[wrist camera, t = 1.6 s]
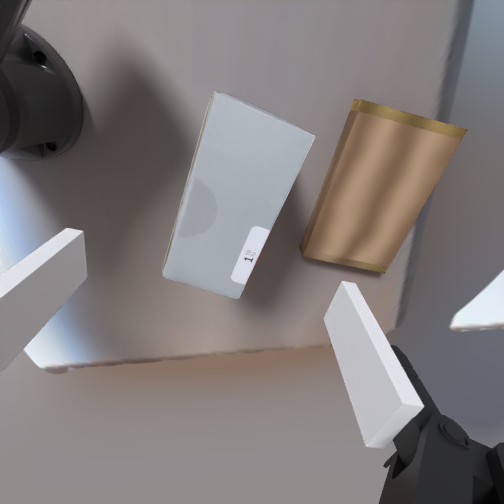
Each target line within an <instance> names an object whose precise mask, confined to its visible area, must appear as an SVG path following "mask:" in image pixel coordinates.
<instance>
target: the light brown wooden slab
mask: <svg viewBox="0 0 504 504" xmlns="http://www.w3.org/2000/svg"><path fill="white" fill-rule="evenodd" d="M466 131H467V129H463V128H460V127H456V126H453V125H449V124H446V123H442V122H438V121H435V120H431V119H428V118H424V117H421V116H417V115H414V114H410V113H407V112H403V111H399V110H396V109H392V108H389V107H385V106H382V105H378V104H375V103H371V102H368V101H364V100H354V102H353V105H352V107H351V110H350V113H349V116H348V118H347V121H346V124H345V126H344V129H343V132H342V135H341V137H340V140H339V143H338V145H337V148H336V151H335V154H334V156H333V159H332V162H331V164H330V167H329V170H328V173H327V175H326V178H325V181H324V184H323V186H322V189H321V192H320V194H319V197H318V200H317V203H316V205H315V208H314V211H313V213H312V216H311V219H310V222H309V224H308V227H307V230H306V232H305V235H304V238H303V241H302V243H301V246H300V249H301V252H302V255H303V257H307V258H312V259H317V260H322V261H327V262H332V263H337V264H342V265H347V266H352V267H356V268H361V269H366V270H371V271H376V272H381V273H385V272H386V270H387V268H388V267H389V265H390V263H391V262H392V260H393V258H394V256H395V255H396V253H397V251H398V249H399V248H400V246H401V244H402V242H403V241H404V239H405V237H406V236H407V234H408V232H409V230H410V229H411V227H412V225H413V223H414V222H415V220H416V218H417V216H418V215H419V213H420V211H421V209H422V208H423V206H424V204H425V203H426V201H427V199H428V197H429V196H430V194H431V192H432V190H433V189H434V187H435V185H436V183H437V182H438V180H439V178H440V177H441V175H442V173H443V171H444V170H445V168H446V166H447V164H448V163H449V161H450V159H451V157H452V156H453V154H454V152H455V150H456V149H457V147H458V145H459V144H460V142H461V140H462V138H463V137H464V135H465V133H466Z"/></svg>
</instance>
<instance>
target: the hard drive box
mask: <svg viewBox="0 0 504 504" xmlns="http://www.w3.org/2000/svg"><path fill="white" fill-rule="evenodd" d="M314 139H315V136H314V135H311V134H310V133H308V132H306V131H304V130H302V129H301V128H299V127H297V126H295V125H293V124H291V123H289V122H287V121H285V120H283V119H281V118H280V117H278V116H276V115H273V114H271V113H269V112H267V111H265V110H263V109H261V108H259V107H256V106H254V105H252V104H250V103H248V102H246V101H243V100H241V99H239V98H236V97H234V96H232V95H227V94H223V93H220V92H213V93H212V96H211V98H210V101H209V104H208V108H207V111H206V114H205V118H204V121H203V125H202V128H201V132H200V135H199V139H198V143H197V146H196V150H195V153H194V157H193V160H192V164H191V168H190V172H189V175H188V179H187V182H186V186H185V190H184V193H183V197H182V200H181V204H180V207H179V211H178V214H177V218H176V221H175V225H174V228H173V232H172V235H171V239H170V242H169V246H168V249H167V253H166V257H165V261H164V265H163V269H162V274H163V277H164V278H167V279H170V280H174V281H177V282H181V283H184V284H187V285H191V286H194V287H197V288H201V289H204V290H207V291H211V292H214V293H218V294H221V295H224V296H228V297H231V298H235V299H239V298H240V296H241V294H242V292H243V289H244V287H245V285H246V283H247V281H248V279H249V277H250V275H251V273H252V271H253V269H254V267H255V264H256V262H257V260H258V258H259V256H260V254H261V251H262V249H263V247H264V245H265V243H266V240H267V238H268V236H269V234H270V232H271V229H272V227H273V225H274V223H275V221H276V219H277V216H278V214H279V212H280V210H281V208H282V206H283V204H284V202H285V200H286V198H287V196H288V194H289V192H290V189H291V187H292V185H293V183H294V181H295V179H296V177H297V175H298V173H299V170H300V168H301V166H302V164H303V162H304V160H305V157H306V155H307V153H308V151H309V149H310V147H311V145H312V143H313V141H314Z"/></svg>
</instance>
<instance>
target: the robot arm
mask: <svg viewBox="0 0 504 504" xmlns="http://www.w3.org/2000/svg"><path fill="white" fill-rule="evenodd" d="M31 1H32V0H0V157H7V158H14V159H20V160H43V159H47V158H50V157H54V156H57V155H60V154H62V153H64V152H65V151H67V150H68V149H69V148H70V147H71V146H72V145H73V144H74V143H75V142H76V140H77V138H78V136H79V134H80V131H81V128H82V122H83V107H82V100H81V96H80V92H79V89H78V87H77V84H76V82H75V79H74V77H73V75H72V73H71V71H70V70H69V68H68V66H67V65H66V63H65V62H64V60H63V59H62V58H61V56H60V55H59V54H58V53H57V52H56V50H55V49H54V48H53V47H52V46H51V45H50V44H49V43H48V42H47V41H46V40H45V39H43V38H42V37H41V36H40V35H38V34H37V33H36V32H34V31H33V30H31V29H30V28H28V27H26V26H25V25H23V24H21V22H22V20H23V18H24V16H25V14H26V12H27V10H28V8H29V6H30V4H31ZM87 278H88V276H87V264H86V252H85V240H84V231H81V230H76V229H71V228H66V229H64V230H63V231H61V232H60V233H59V234H57V235H56V236H54V237H53V238H52V239H50V240H49V241H47V242H46V243H45V244H43V245H42V246H41V247H39V248H38V249H36V250H35V251H34V252H32V253H31V254H29V255H28V256H27V257H25V258H24V259H22V260H21V261H20V262H18V263H17V264H15V265H14V266H13V267H11V268H10V269H8V270H7V271H6V272H4V273H3V274H1V275H0V374H1V373H2V372H3V371H4V370H5V369H6V368H7V366H8V365H9V364H10V363H11V362H12V361H13V360H14V359H15V358H16V357H17V355H18V354H19V353H20V352H21V351H22V350H23V349H24V348H25V347H26V345H27V344H28V343H29V342H30V341H31V340H32V339H33V338H34V337H35V335H36V334H37V333H38V332H39V331H40V330H41V329H42V328H43V327H44V325H45V324H46V323H47V322H48V321H49V320H50V319H51V318H52V316H53V315H54V314H55V313H56V312H57V311H58V310H59V309H60V308H61V306H62V305H63V304H64V303H65V302H66V301H67V300H68V299H69V298H70V296H71V295H72V294H73V293H74V292H75V291H76V290H77V289H78V288H79V286H80V285H81V284H82V283H83V282H84V281H85V280H86V279H87ZM324 321H325V324H326V327H327V330H328V334H329V337H330V340H331V343H332V346H333V349H334V352H335V354H336V358H337V361H338V363H339V367H340V370H341V373H342V376H343V379H344V382H345V385H346V388H347V391H348V394H349V397H350V400H351V403H352V406H353V409H354V412H355V415H356V418H357V421H358V424H359V428H360V431H361V433H362V436H363V440H364V443H365V446H366V447H375V448H383V449H385V448H386V447H387V446H388V445H389V444H390V443H391V442H392V441H393V442H394V444H395V447H396V449H397V451H396V452H395V453H394V454H393V455H392V456H391V457H390V458H389V459H388V460H387V461H386V462H385V464H384V467H385V468H387V467H388V466H389V465H390V467H389V471H388V474H387V478H386V481H385V484H384V488H383V491H382V494H381V498H380V501H379V504H504V443H499V444H498V445H496V446H495V447H494V448H489V447H487V446H485V445H483V444H480V443H478V442H476V441H474V440H472V439H470V438H469V436H468V435H467V433H466V432H465V431H464V430H463V429H462V428H461V426H459V425H458V424H457V423H456V422H455V421H453V420H452V419H450V418H448V417H447V416H445V415H441V414H440V412H439V410H438V408H437V407H436V405H435V403H434V402H433V400H432V398H431V397H430V395H429V394H428V392H427V390H426V388H425V387H424V385H423V383H422V382H421V380H420V379H419V378H418V375H417V373H416V372H415V370H414V369H413V368H412V365H411V363H410V362H409V360H408V358H407V357H406V356H405V354H404V353H403V352H402V351H400V349H399V348H398V347H397V346H394V345H389V343H388V341H387V340H386V337H385V336H384V334H383V332H382V330H381V328H380V327H379V325H378V323H377V321H376V320H375V318H374V316H373V314H372V312H371V311H370V309H369V307H368V305H367V304H366V302H365V300H364V298H363V296H362V295H361V293H360V291H359V289H358V287H357V286H356V284H355V283H350V282H345V281H342V282H341V284H340V286H339V288H338V290H337V292H336V294H335V296H334V298H333V300H332V302H331V304H330V306H329V308H328V311H327V313H326V315H325V317H324Z"/></svg>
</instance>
